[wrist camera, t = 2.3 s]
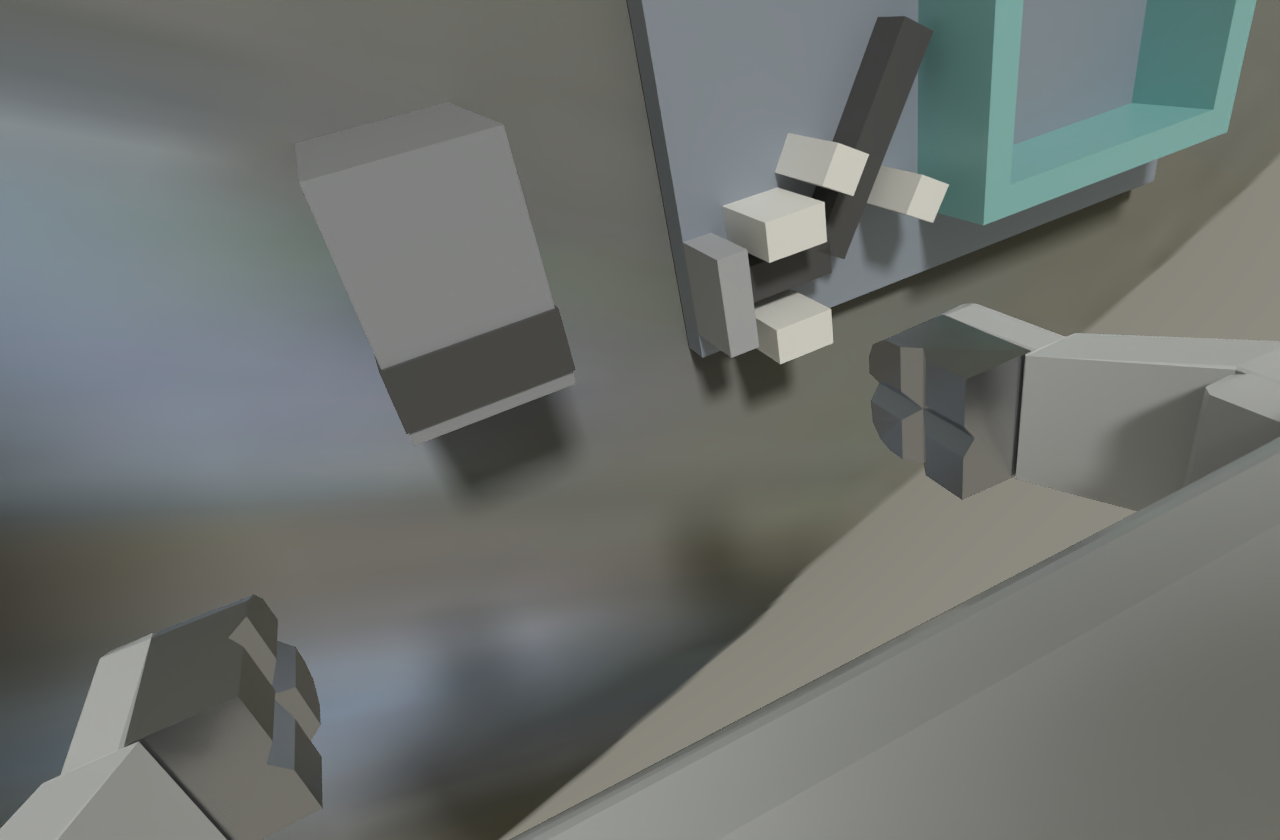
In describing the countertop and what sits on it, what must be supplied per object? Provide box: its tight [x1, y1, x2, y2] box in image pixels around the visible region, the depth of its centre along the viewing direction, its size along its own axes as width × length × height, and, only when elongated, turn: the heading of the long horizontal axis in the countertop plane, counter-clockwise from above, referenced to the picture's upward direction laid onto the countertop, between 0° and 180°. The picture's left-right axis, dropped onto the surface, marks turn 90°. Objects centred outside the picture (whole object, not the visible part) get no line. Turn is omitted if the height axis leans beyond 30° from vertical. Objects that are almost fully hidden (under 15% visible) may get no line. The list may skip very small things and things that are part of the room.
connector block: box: [295, 102, 576, 446], centre depth 18 cm, size 6×4×6 cm
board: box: [627, 0, 1158, 364], centre depth 23 cm, size 15×21×4 cm
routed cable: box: [748, 16, 933, 302], centre depth 23 cm, size 4×10×1 cm, turn 142°
